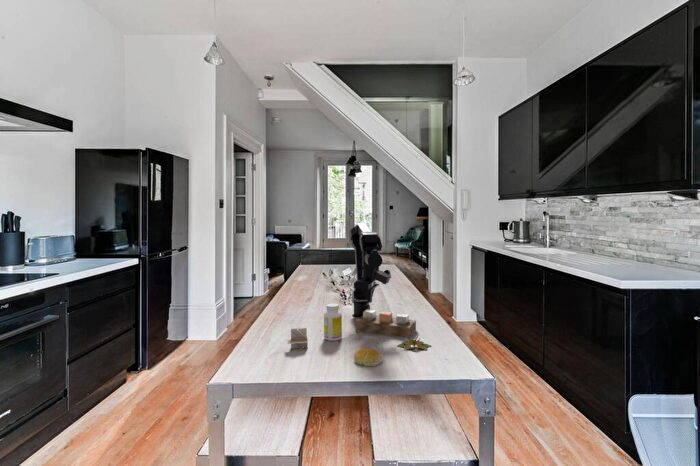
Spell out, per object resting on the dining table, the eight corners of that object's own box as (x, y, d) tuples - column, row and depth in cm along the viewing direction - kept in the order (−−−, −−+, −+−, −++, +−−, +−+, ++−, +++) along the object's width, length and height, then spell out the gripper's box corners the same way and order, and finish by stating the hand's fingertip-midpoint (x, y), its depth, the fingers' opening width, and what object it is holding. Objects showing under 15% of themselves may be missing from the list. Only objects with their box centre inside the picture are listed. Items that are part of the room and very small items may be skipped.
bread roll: (361, 354, 131) (361, 343, 131) (385, 360, 126) (385, 348, 126) (348, 363, 124) (348, 351, 124) (373, 369, 119) (373, 357, 119)
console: (355, 330, 156) (355, 320, 155) (365, 323, 165) (365, 314, 164) (408, 338, 146) (408, 327, 146) (415, 330, 155) (416, 320, 155)
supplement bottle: (344, 336, 149) (344, 303, 148) (338, 342, 142) (337, 307, 141) (328, 334, 151) (327, 302, 150) (321, 340, 144) (321, 306, 143)
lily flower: (437, 347, 138) (438, 335, 138) (417, 356, 130) (418, 343, 130) (410, 339, 147) (410, 327, 147) (390, 347, 139) (390, 334, 138)
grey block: (396, 325, 151) (396, 315, 151) (399, 322, 155) (399, 313, 155) (406, 326, 150) (406, 317, 149) (409, 323, 153) (409, 314, 153)
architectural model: (307, 352, 134) (307, 331, 134) (287, 353, 133) (287, 332, 133) (307, 348, 138) (307, 327, 137) (287, 349, 137) (287, 328, 136)
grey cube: (363, 321, 157) (363, 311, 157) (366, 318, 161) (366, 309, 161) (372, 322, 156) (372, 312, 155) (375, 319, 159) (375, 310, 159)
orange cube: (379, 323, 154) (379, 313, 154) (382, 320, 158) (382, 311, 158) (388, 324, 153) (388, 315, 152) (392, 321, 156) (392, 312, 156)
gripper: (380, 269, 145) (380, 310, 146) (396, 261, 162) (395, 298, 163) (353, 267, 149) (353, 306, 151) (371, 260, 166) (371, 296, 168)
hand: (369, 301), depth 158 cm, fingers closed
